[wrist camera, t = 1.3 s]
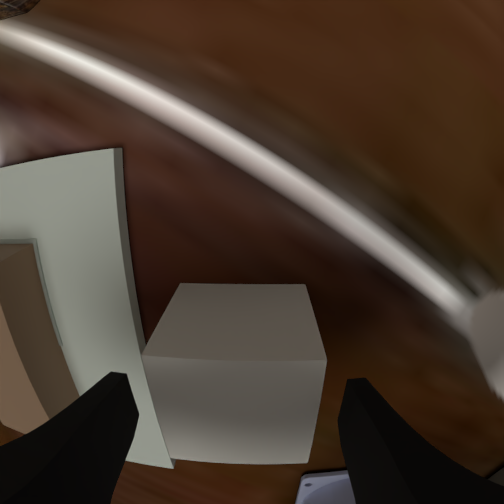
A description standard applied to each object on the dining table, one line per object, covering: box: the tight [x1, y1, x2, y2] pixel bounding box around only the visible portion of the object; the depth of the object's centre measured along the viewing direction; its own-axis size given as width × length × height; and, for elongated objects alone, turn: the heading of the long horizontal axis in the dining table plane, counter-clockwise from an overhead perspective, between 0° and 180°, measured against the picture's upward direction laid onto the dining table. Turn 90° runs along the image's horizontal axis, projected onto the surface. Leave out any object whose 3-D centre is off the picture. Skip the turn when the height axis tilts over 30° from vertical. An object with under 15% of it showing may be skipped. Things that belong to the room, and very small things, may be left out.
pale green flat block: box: [0, 148, 176, 469], centre depth 12 cm, size 18×12×4 cm, turn 0°
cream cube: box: [141, 283, 327, 464], centre depth 11 cm, size 5×5×5 cm
